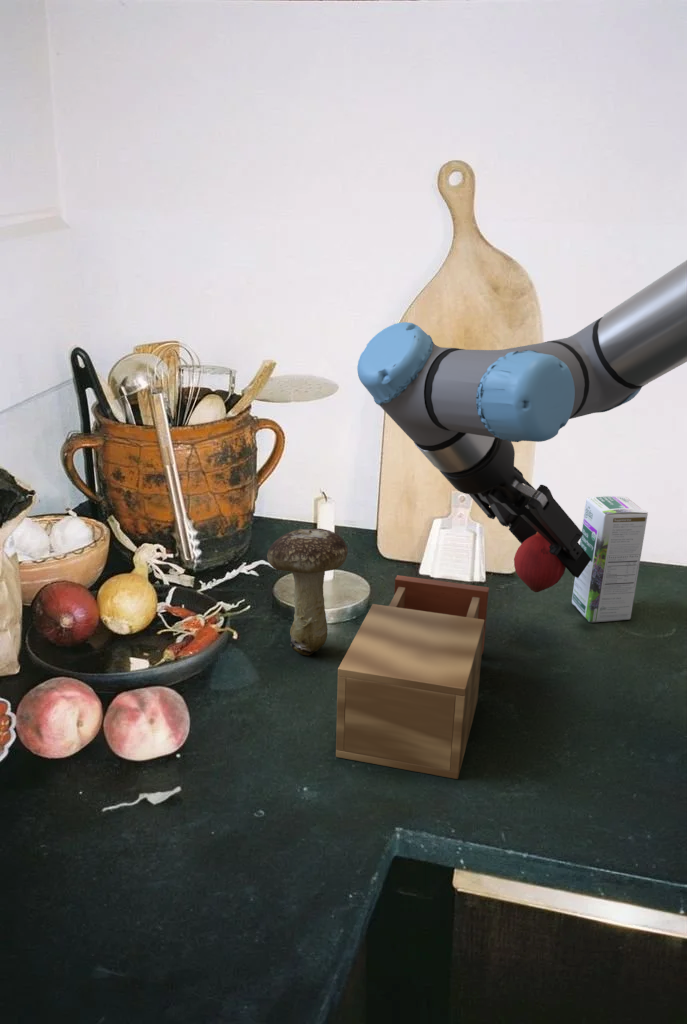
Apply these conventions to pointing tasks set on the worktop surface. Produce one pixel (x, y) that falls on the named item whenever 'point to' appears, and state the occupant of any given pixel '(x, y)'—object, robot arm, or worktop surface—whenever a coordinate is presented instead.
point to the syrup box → (609, 558)
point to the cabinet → (409, 690)
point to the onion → (537, 564)
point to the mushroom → (308, 580)
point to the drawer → (441, 598)
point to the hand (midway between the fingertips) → (561, 558)
